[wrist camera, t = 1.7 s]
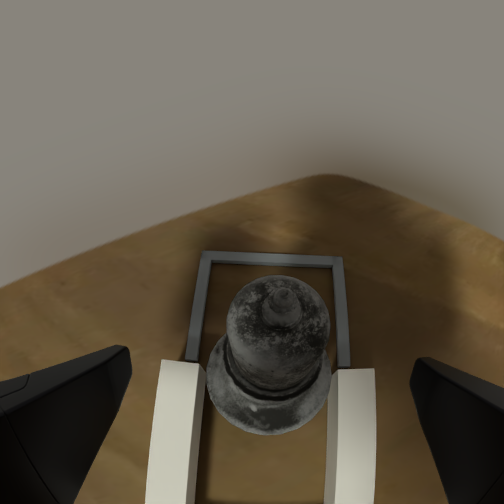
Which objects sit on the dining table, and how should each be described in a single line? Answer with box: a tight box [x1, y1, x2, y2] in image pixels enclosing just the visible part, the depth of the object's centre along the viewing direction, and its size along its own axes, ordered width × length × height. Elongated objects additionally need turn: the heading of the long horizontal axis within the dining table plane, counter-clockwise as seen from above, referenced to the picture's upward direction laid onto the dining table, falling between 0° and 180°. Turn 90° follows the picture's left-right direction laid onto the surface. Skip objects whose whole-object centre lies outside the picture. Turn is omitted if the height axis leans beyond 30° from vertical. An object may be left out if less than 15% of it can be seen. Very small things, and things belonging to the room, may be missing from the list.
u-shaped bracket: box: [145, 359, 376, 504], centre depth 13 cm, size 11×11×2 cm
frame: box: [185, 251, 350, 368], centre depth 19 cm, size 8×10×1 cm
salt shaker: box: [206, 275, 332, 435], centre depth 12 cm, size 6×6×12 cm
